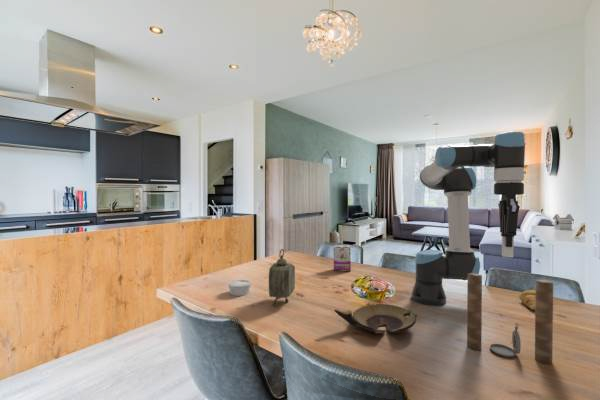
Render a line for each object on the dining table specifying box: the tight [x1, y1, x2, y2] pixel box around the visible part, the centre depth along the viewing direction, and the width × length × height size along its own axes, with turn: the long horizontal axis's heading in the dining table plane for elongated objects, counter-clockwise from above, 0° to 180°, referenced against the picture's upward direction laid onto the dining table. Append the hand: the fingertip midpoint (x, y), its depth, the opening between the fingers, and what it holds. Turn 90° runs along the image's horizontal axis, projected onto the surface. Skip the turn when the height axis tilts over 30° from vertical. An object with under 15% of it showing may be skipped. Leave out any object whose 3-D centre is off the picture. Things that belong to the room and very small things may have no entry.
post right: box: [534, 279, 554, 365], centre depth 84 cm, size 4×4×24 cm
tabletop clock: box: [268, 248, 296, 307], centre depth 130 cm, size 14×9×25 cm, turn 168°
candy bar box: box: [333, 245, 352, 271], centre depth 185 cm, size 11×5×16 cm, turn 80°
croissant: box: [518, 289, 536, 311], centre depth 126 cm, size 21×10×8 cm, turn 141°
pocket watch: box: [489, 323, 522, 358], centre depth 87 cm, size 8×8×10 cm
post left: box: [466, 273, 483, 351], centre depth 91 cm, size 4×4×24 cm
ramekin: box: [228, 279, 252, 297], centre depth 143 cm, size 11×11×5 cm
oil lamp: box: [334, 303, 418, 334], centre depth 106 cm, size 22×30×8 cm
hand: (507, 256), depth 87 cm, fingers closed
